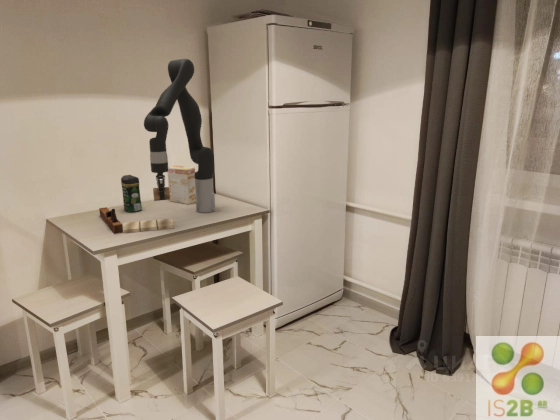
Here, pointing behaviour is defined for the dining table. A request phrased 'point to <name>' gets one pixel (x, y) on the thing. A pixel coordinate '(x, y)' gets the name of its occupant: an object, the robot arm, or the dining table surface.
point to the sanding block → (157, 196)
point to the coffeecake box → (182, 184)
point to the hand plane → (111, 220)
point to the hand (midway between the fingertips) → (162, 198)
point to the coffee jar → (131, 193)
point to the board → (148, 225)
